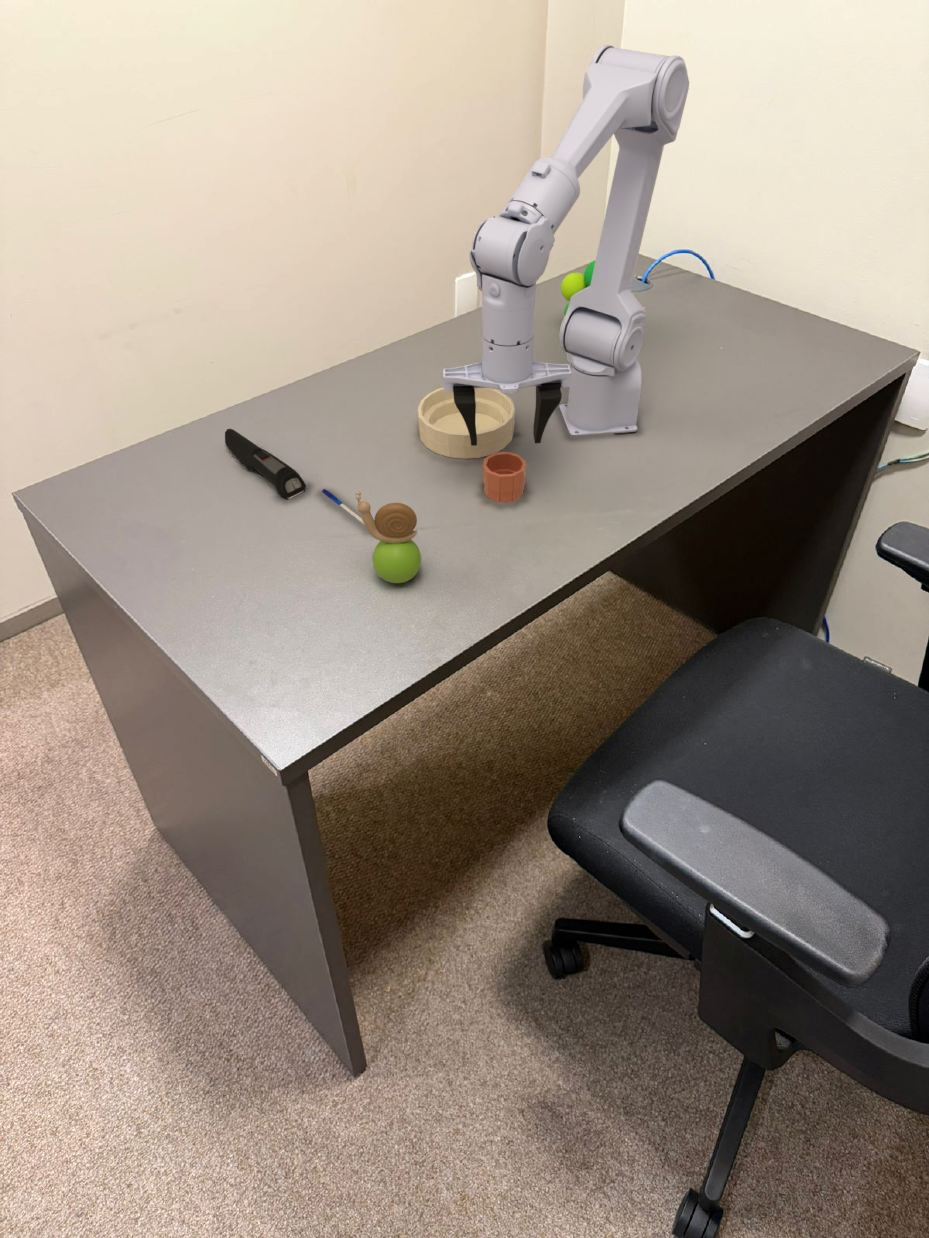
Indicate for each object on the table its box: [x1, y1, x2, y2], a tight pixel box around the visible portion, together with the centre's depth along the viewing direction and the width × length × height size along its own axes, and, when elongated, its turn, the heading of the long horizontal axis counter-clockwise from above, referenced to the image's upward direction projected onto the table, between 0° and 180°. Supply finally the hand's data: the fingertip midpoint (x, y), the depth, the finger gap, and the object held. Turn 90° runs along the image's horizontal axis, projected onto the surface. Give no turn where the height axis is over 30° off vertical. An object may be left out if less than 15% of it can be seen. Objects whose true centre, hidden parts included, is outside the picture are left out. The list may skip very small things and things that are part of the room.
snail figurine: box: [355, 490, 422, 584], centre depth 94 cm, size 5×6×12 cm
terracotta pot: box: [482, 451, 527, 504], centre depth 108 cm, size 5×5×4 cm
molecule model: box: [560, 259, 596, 318], centre depth 135 cm, size 9×9×9 cm
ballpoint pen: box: [321, 488, 364, 525], centre depth 107 cm, size 10×1×1 cm, turn 43°
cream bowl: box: [417, 386, 516, 460], centre depth 118 cm, size 13×13×4 cm
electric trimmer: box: [224, 428, 307, 500], centre depth 113 cm, size 4×16×3 cm, turn 42°
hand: (505, 440), depth 104 cm, fingers open, 7 cm apart
